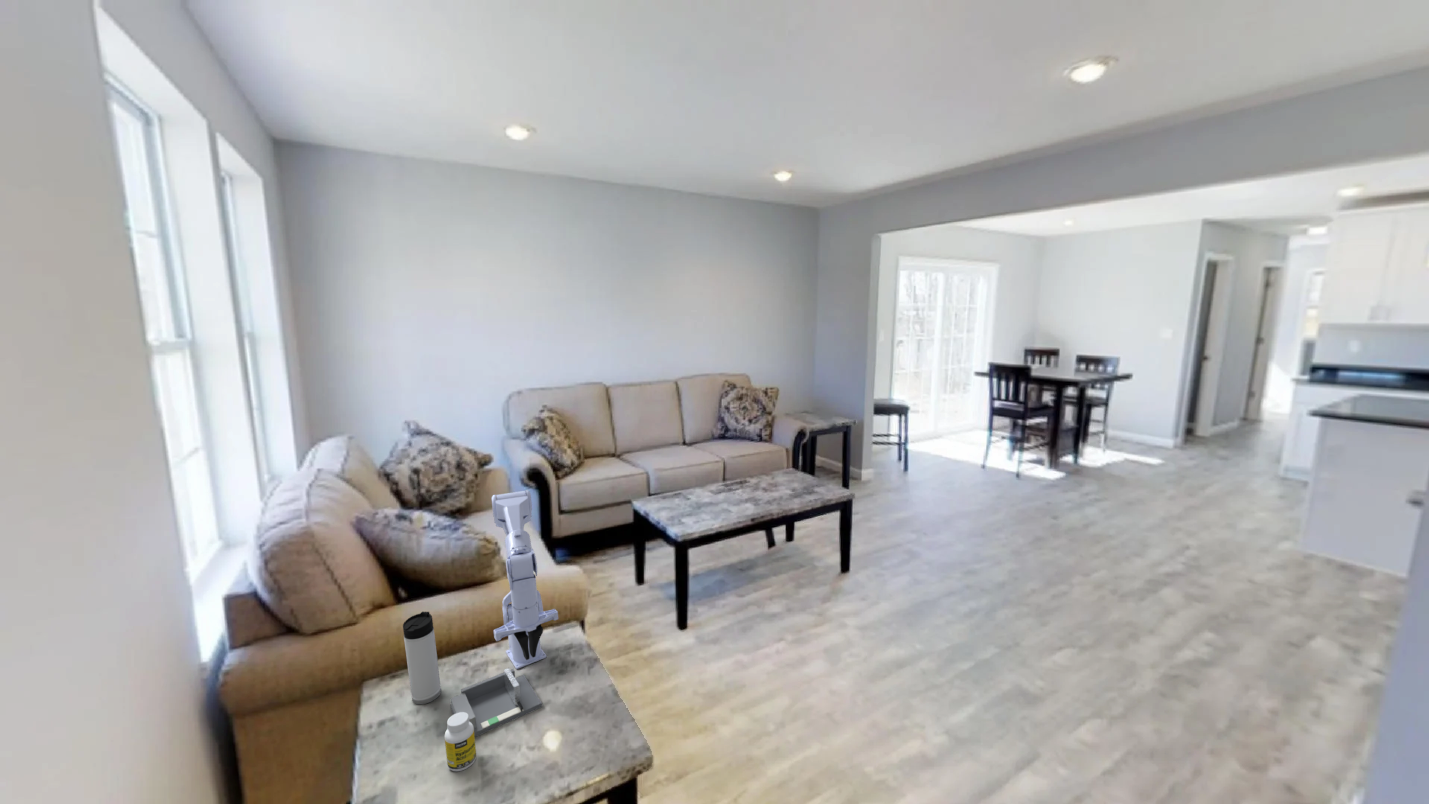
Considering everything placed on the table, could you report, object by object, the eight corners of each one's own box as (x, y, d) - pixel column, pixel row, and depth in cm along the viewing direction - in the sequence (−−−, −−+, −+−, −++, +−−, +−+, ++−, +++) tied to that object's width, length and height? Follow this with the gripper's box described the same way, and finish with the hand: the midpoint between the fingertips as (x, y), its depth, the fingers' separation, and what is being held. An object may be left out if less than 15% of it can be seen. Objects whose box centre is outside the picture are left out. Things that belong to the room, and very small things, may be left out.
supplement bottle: (456, 777, 109) (451, 732, 108) (442, 764, 112) (437, 721, 111) (482, 759, 113) (477, 716, 112) (468, 747, 117) (463, 705, 115)
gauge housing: (450, 708, 128) (448, 692, 128) (524, 678, 138) (522, 663, 138) (463, 741, 118) (462, 725, 117) (542, 706, 128) (541, 691, 127)
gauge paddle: (505, 687, 133) (503, 669, 132) (510, 685, 134) (508, 667, 133) (519, 712, 125) (517, 693, 124) (524, 709, 125) (522, 691, 125)
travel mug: (447, 686, 136) (438, 611, 133) (431, 705, 130) (421, 626, 126) (423, 685, 137) (414, 610, 134) (406, 704, 130) (395, 625, 127)
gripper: (497, 621, 122) (503, 677, 124) (561, 599, 131) (565, 652, 133) (489, 608, 128) (494, 662, 130) (550, 588, 136) (554, 639, 138)
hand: (529, 656), depth 132 cm, fingers closed
